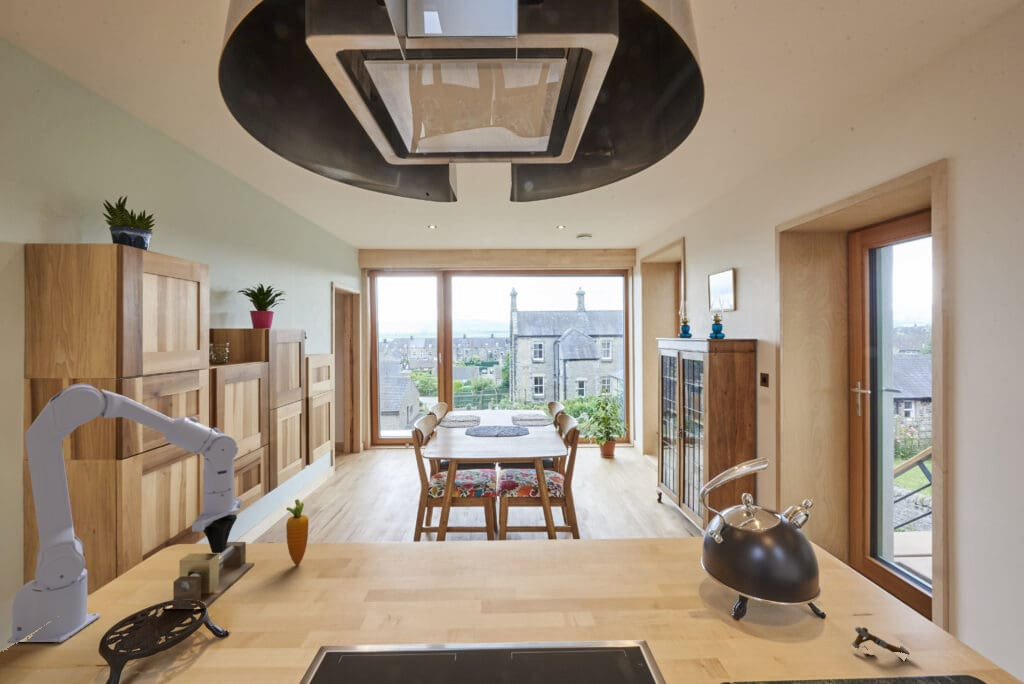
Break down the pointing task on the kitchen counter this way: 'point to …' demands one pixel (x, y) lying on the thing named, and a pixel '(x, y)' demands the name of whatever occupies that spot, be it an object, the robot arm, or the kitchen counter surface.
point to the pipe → (222, 558)
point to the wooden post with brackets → (875, 641)
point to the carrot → (297, 533)
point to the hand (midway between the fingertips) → (218, 551)
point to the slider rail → (227, 577)
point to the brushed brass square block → (202, 569)
